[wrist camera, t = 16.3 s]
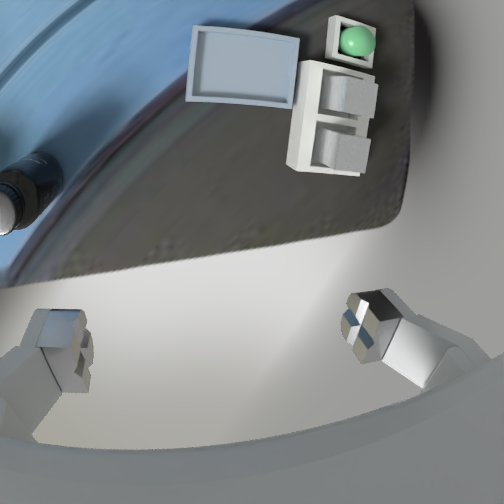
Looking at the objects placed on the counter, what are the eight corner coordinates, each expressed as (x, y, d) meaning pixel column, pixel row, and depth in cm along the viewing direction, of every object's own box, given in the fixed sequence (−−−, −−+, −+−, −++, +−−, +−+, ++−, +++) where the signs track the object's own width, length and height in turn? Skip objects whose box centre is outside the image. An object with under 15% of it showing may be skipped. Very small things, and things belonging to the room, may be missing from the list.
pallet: (298, 61, 33) (310, 59, 30) (359, 75, 36) (375, 76, 33) (285, 164, 40) (296, 171, 36) (346, 169, 42) (359, 176, 39)
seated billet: (313, 125, 37) (340, 134, 31) (340, 129, 38) (371, 139, 32) (308, 156, 38) (334, 170, 33) (336, 159, 40) (364, 173, 34)
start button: (337, 25, 31) (349, 21, 28) (363, 33, 32) (376, 31, 29) (335, 52, 33) (346, 50, 30) (361, 59, 34) (374, 59, 31)
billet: (318, 76, 34) (347, 76, 28) (346, 82, 35) (378, 84, 29) (314, 107, 36) (342, 112, 30) (342, 112, 37) (373, 119, 31)
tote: (192, 28, 29) (193, 25, 27) (293, 40, 32) (299, 38, 30) (185, 101, 33) (186, 101, 31) (286, 108, 36) (291, 109, 34)
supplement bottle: (49, 140, 30) (5, 163, 20) (73, 187, 34) (39, 227, 24) (10, 168, 30) (-38, 200, 20) (33, 211, 34) (-5, 256, 24)
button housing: (328, 17, 31) (336, 15, 29) (367, 29, 32) (376, 28, 31) (324, 58, 34) (332, 57, 32) (363, 68, 35) (372, 68, 33)
